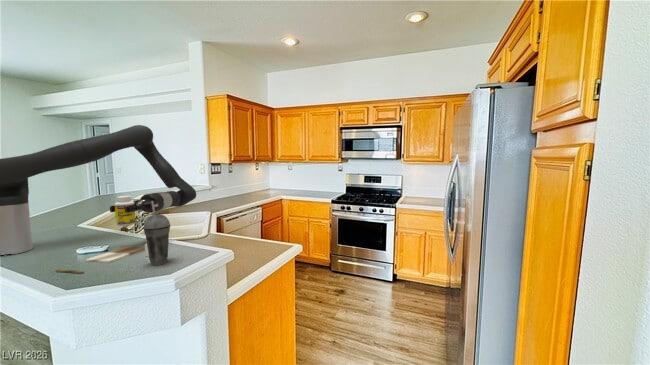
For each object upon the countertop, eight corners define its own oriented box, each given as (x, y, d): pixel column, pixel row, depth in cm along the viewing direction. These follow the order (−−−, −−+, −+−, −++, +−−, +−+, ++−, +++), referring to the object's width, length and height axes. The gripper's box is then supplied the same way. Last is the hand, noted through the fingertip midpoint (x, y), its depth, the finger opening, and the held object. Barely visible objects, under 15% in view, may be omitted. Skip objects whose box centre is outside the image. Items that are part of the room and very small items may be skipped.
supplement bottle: (115, 227, 91) (113, 198, 90) (117, 224, 96) (114, 196, 95) (135, 225, 94) (133, 196, 93) (136, 222, 99) (134, 195, 98)
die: (145, 256, 90) (144, 243, 90) (150, 252, 94) (150, 240, 94) (158, 255, 91) (157, 243, 90) (163, 251, 95) (162, 239, 94)
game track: (55, 271, 77) (55, 269, 77) (125, 247, 100) (125, 245, 100) (81, 273, 76) (81, 271, 76) (146, 248, 98) (146, 247, 98)
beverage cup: (177, 260, 86) (174, 199, 85) (156, 268, 80) (153, 202, 78) (160, 257, 89) (157, 198, 87) (139, 265, 82) (135, 201, 80)
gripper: (140, 192, 109) (99, 198, 93) (171, 192, 107) (135, 199, 90) (142, 210, 110) (101, 219, 93) (172, 211, 108) (137, 220, 91)
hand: (118, 209), depth 92 cm, fingers closed on supplement bottle, 5 cm apart
